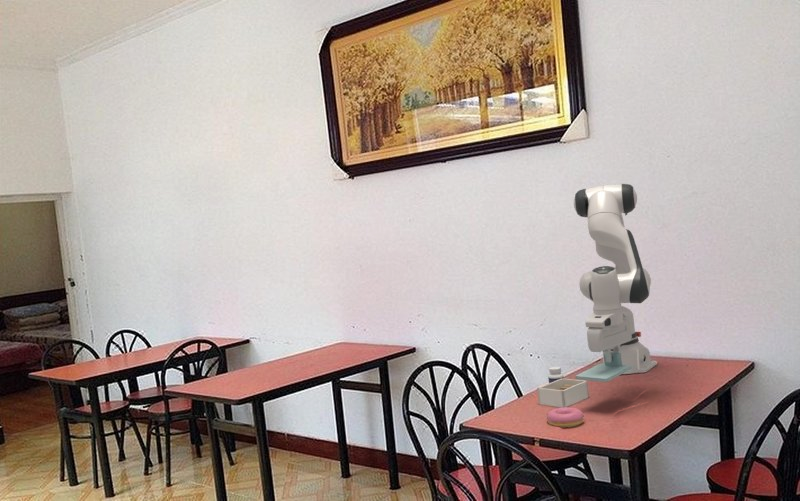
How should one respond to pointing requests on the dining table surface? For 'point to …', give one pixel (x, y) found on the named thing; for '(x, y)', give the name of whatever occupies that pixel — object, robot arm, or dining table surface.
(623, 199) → the robot arm
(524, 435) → the dining table surface
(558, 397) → the tub
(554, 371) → the pill bottle
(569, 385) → the block
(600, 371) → the lid
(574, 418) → the doughnut
